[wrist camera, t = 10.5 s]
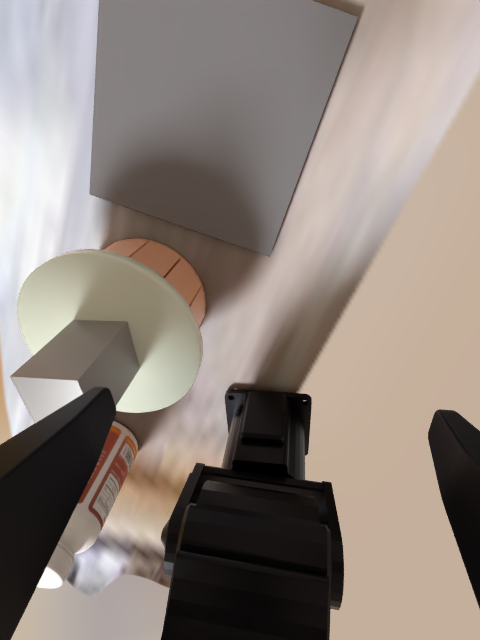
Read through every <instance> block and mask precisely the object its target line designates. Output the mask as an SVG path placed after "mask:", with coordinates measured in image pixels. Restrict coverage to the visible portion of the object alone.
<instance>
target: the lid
mask: <svg viewBox="0 0 480 640" xmlns="http://www.w3.org/2000/svg"><path fill="white" fill-rule="evenodd" d="M17 314H18V322H19V326H20V330H21V333H22V336H23V338H24V341H25V343H26V345H27V347H28V349H29V350H30V352H31V353H32V355H33V357H31V358H30V359H29V360H28V361H27V362H26V363H25V364H24V365H22V366H21V367H20V368H19V369H18V370H17V371H16V372H15V373H14V374H12V375H11V376H10V377H11V379H12V381H13V383H14V385H15V387H16V389H17V391H18V393H19V395H20V396H21V398H22V400H23V402H24V404H25V406H26V408H27V410H28V412H29V414H30V416H31V417H32V419H33V421H34V423H36V422H38V421H40V420H41V419H43V418H45V417H46V416H48V415H49V414H51V413H53V412H54V411H56V410H58V409H59V408H61V407H62V406H64V405H66V404H67V403H69V402H71V401H72V400H74V399H75V398H77V397H79V396H80V395H82V394H84V393H85V392H87V391H88V390H90V389H92V388H93V387H107V388H109V389H110V390H111V393H112V396H113V399H114V402H115V405H116V411H121V412H129V413H142V412H151V411H156V410H160V409H163V408H165V407H168V406H170V405H172V404H174V403H175V402H177V401H178V400H179V399H181V398H182V397H183V396H184V395H185V394H186V393H187V392H188V390H189V389H190V388H191V386H192V385H193V382H194V380H195V378H196V376H197V373H198V371H199V368H200V365H201V361H202V354H203V343H202V336H201V332H200V328H199V325H198V322H197V320H196V317H195V316H194V314H193V312H192V310H191V308H190V306H189V305H188V304H187V302H186V301H185V299H184V298H183V296H182V295H181V294H180V293H179V292H178V291H177V290H176V288H175V287H174V286H173V285H171V284H170V283H169V282H168V281H167V280H166V279H165V278H164V277H162V276H161V275H160V274H158V273H157V272H156V271H154V270H153V269H151V268H150V267H148V266H146V265H144V264H143V263H141V262H139V261H137V260H134V259H132V258H130V257H128V256H124V255H121V254H118V253H115V252H110V251H104V250H94V249H85V250H75V251H71V252H67V253H64V254H61V255H59V256H56V257H54V258H53V259H51V260H49V261H47V262H46V263H44V264H43V265H41V266H39V267H38V268H36V269H35V270H34V271H33V272H32V273H31V274H30V275H29V276H28V278H27V279H26V281H25V282H24V284H23V286H22V288H21V291H20V293H19V298H18V305H17Z"/></svg>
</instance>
